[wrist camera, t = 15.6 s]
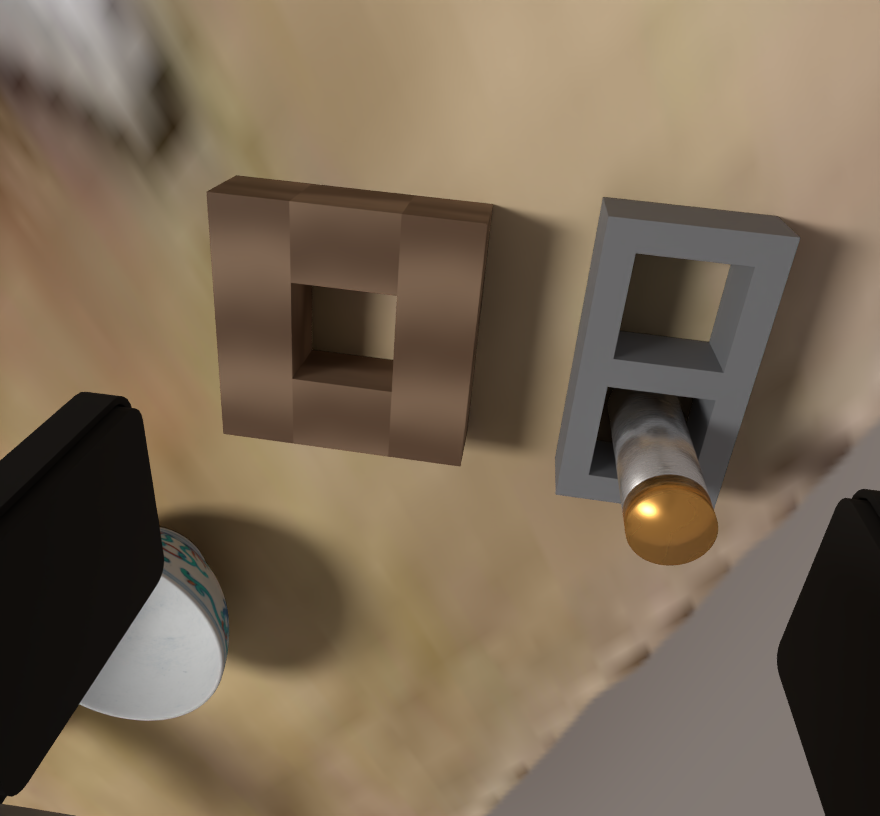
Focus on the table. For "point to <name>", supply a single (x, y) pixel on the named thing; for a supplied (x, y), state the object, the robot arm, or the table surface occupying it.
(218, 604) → the chinaware
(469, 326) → the socket block
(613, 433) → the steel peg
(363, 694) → the table surface
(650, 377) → the gray cinder block
